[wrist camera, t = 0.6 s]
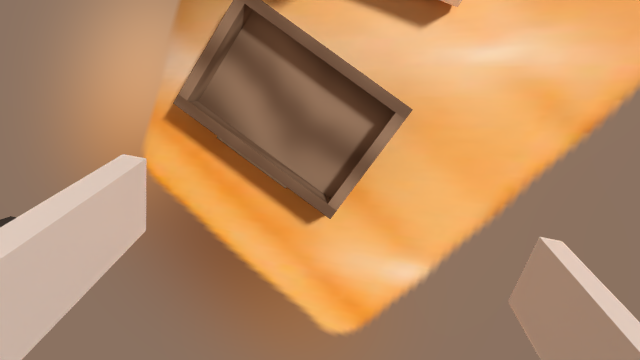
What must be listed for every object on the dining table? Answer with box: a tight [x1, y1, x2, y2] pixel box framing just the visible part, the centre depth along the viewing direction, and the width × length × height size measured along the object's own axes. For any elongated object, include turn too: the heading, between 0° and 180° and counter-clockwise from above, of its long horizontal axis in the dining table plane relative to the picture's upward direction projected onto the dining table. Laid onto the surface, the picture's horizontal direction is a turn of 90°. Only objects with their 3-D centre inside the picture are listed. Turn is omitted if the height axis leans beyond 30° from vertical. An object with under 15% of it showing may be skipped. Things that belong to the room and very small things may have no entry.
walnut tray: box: [173, 0, 412, 219], centre depth 35 cm, size 12×18×3 cm
